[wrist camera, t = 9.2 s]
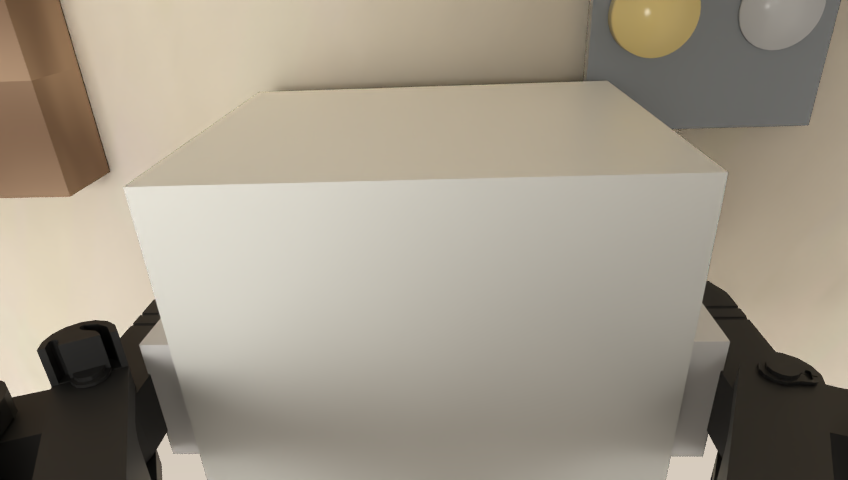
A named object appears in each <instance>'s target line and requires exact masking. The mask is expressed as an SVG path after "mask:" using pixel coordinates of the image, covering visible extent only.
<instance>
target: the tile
mask: <svg viewBox="0 0 848 480" xmlns="http://www.w3.org/2000/svg"><path fill="white" fill-rule="evenodd" d="M840 2H841V0H590V2H589V14H588V27H587V39H586V51H585V64H584V76H583V81H609V82H610V83H611V84H613V85H614V86H615V87H616V88H618V89H619V90H620V91H622V92H623V93H624V94H626V95H627V96H628V97H630V98H631V99H632V100H634V101H635V102H636V103H638V104H639V105H640V106H642V107H643V108H644V109H646V110H647V111H648V112H650V113H651V114H652V115H654V116H655V117H656V118H657V119H659V120H660V121H661V122H663V123H664V124H665V125H667V126H668V127H669V128H671V129H689V128H728V127H767V126H805V125H809V121H810V117H811V114H812V110H813V106H814V102H815V98H816V94H817V90H818V87H819V83H820V79H821V75H822V71H823V67H824V64H825V60H826V56H827V52H828V48H829V44H830V40H831V37H832V33H833V29H834V25H835V21H836V17H837V13H838V10H839V6H840Z"/></svg>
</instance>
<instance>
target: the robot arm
mask: <svg viewBox="0 0 848 480" xmlns="http://www.w3.org/2000/svg"><path fill="white" fill-rule="evenodd" d="M37 352H38V354H39V357H40V359H41V362H42V364H43V367H44V369H45V371H46V374H47V376H48V379H49V381H50V384H51V386H52V387H51V389H50V390H46V391H41V392H36V393H31V394H27V395H22V396H17V397H11V395H10V393H9V390H8V388H7V386H6V384H5V382H3V381H0V480H162V466H161V461H160V459H159V455H158V452H157V448H158V446H159V444H160V442H161V441H162V439H163V438H164V436H165V434H166V433H167V436H168V439H169V442H170V445H171V448H172V451H173V453H174V454H200V453H199V450H198V446H197V443H196V439H195V436H194V432H193V429H192V425H191V422H190V418H189V415H188V411H187V408H186V404H185V401H184V397H183V394H182V390H181V387H180V383H179V380H178V377H177V373H176V370H175V366H174V363H173V359H172V356H171V352H170V349H169V345H168V342H167V338H166V335H165V331H164V328H163V324H162V321H161V317H160V314H159V310H158V307H157V303H156V300H153V301H152V303H151V304H150V305H149V306H148V307H147V308H146V309H145V311H144V312H143V313H142V315H140V316H139V317H138V319H137V320H136V321H135V322H134V323H133V326H131V327H130V328H129V329H128V330H127V331H126V332H125V333H124V335H123V336H122V337H121V338H120V337H119V334H118V331H117V329H116V326H115V325H114V324H112V323H110V322H108V321H98V320H94V321H87V322H81V323H78V324H74V325H71V326H68V327H65V328H63V329H61V330H59V331H57V332H55V333H54V334H52V335H51V336H49V337H48V338H47V339H45V340H44V341H43V342H42V343H41V345H40V346H39V348H38V349H37ZM708 434H709V435H710V437H711V439H712V441H713V443H714V445H715V446H716V448H717V450H718V453H717V457H716V460H715V464H714V469H713V472H712V477H711V480H848V389H843V388H837V387H833V386H830V385H826V384H825V382H824V380H823V378H822V375H821V374H820V373H819V372H817V371H816V370H815V369H814V368H813V367H812V366H811V365H809V364H807V363H805V362H803V361H802V360H800V359H798V358H795V357H792V356H789V355H786V354H783V353H778V352H775V351H774V349H773V348H772V347H771V346H770V344H769V343H768V342H767V341H766V340H765V338H764V337H763V336H762V335H761V334H760V332H759V331H758V330H757V329H756V327H755V326H754V325H753V324H752V323H751V321H750V320H747V317H746V315H745V314H744V313H743V312H742V310H741V309H740V308H738V306H737V304H736V303H735V302H734V301H733V300H732V298H731V297H730V296H729V295H728V293H727V292H725V291H723V290H722V289H720V288H719V287H717V286H715V285H714V284H712V283H710V282H709V281H706V286H705V290H704V295H703V300H702V305H701V310H700V315H699V320H698V325H697V330H696V335H695V340H694V345H693V349H692V354H691V359H690V364H689V369H688V374H687V379H686V384H685V389H684V394H683V399H682V404H681V408H680V413H679V418H678V423H677V428H676V433H675V438H674V443H673V448H672V453H671V456H703V454H704V449H705V445H706V441H707V437H708Z"/></svg>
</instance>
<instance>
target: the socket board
mask: <svg viewBox="0 0 848 480" xmlns="http://www.w3.org/2000/svg"><path fill="white" fill-rule="evenodd" d="M109 172H110V171H109V168H108V164H107V161H106V158H105V154H104V151H103V148H102V144H101V141H100V137H99V134H98V131H97V127H96V124H95V121H94V117H93V114H92V110H91V107H90V104H89V100H88V97H87V94H86V90H85V87H84V83H83V80H82V77H81V73H80V70H79V67H78V63H77V60H76V56H75V53H74V50H73V46H72V43H71V40H70V36H69V33H68V29H67V26H66V23H65V19H64V16H63V13H62V9H61V6H60V2H59V0H0V198H23V197H70V196H72V195H73V194H75V193H77V192H78V191H80V190H82V189H83V188H85V187H86V186H88V185H90V184H91V183H93V182H94V181H96V180H98V179H99V178H101V177H102V176H104V175H106V174H107V173H109Z"/></svg>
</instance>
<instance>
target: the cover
mask: <svg viewBox="0 0 848 480" xmlns="http://www.w3.org/2000/svg"><path fill="white" fill-rule="evenodd" d="M727 177H728V171H726V170H725V169H724V168H722V167H721V166H720V165H718V164H717V163H716V162H714V161H713V160H712V159H710V158H709V157H708V156H706V155H705V154H704V153H702V152H701V151H700V150H698V149H697V148H696V147H694V146H693V145H692V144H691V143H689V142H688V141H687V140H685V139H684V138H683V137H681V136H680V135H679V134H677V133H676V132H675V131H673V130H672V129H671V128H669V127H668V126H667V125H665V124H664V123H663V122H661V121H660V120H659V119H657V118H656V117H655V116H654V115H652V114H651V113H650V112H648V111H647V110H646V109H644V108H643V107H642V106H640V105H639V104H638V103H636V102H635V101H634V100H632V99H631V98H630V97H628V96H627V95H626V94H624V93H623V92H622V91H620V90H619V89H618V88H616V87H615V86H614V85H613V84H611V83H610V82H609V81H581V82H550V83H520V84H489V85H458V86H428V87H397V88H367V89H336V90H306V91H275V92H258V93H257V94H256V95H254V96H253V97H251V98H250V99H248V100H247V101H246V102H244V103H243V104H241V105H240V106H238V107H237V108H236V109H234V110H233V111H231V112H230V113H228V114H227V115H225V116H224V117H223V118H221V119H220V120H218V121H217V122H215V123H214V124H213V125H211V126H210V127H208V128H207V129H205V130H204V131H203V132H201V133H200V134H198V135H197V136H195V137H194V138H193V139H191V140H190V141H188V142H187V143H185V144H184V145H183V146H181V147H180V148H178V149H177V150H175V151H174V152H173V153H171V154H170V155H168V156H167V157H165V158H164V159H163V160H161V161H160V162H158V163H157V164H155V165H154V166H153V167H151V168H150V169H148V170H147V171H145V172H144V173H143V174H141V175H140V176H138V177H137V178H135V179H134V180H133V181H131V182H130V183H128V184H127V185H125V186H124V187H123V188H124V192H125V195H126V199H127V202H128V206H129V209H130V213H131V216H132V220H133V223H134V227H135V230H136V234H137V237H138V241H139V244H140V248H141V251H142V255H143V258H144V262H145V265H146V269H147V272H148V275H149V279H150V282H151V286H152V289H153V293H154V296H155V300H156V303H157V307H158V310H159V314H160V317H161V321H162V324H163V328H164V331H165V335H166V338H167V342H168V345H169V349H170V352H171V356H172V359H173V363H174V366H175V370H176V373H177V377H178V380H179V383H180V387H181V390H182V394H183V397H184V401H185V404H186V408H187V411H188V415H189V418H190V422H191V425H192V429H193V432H194V436H195V439H196V443H197V446H198V450H199V453H200V457H201V460H202V464H203V467H204V470H205V474H206V477H207V480H666V477H667V472H668V467H669V462H670V458H671V453H672V448H673V443H674V438H675V433H676V428H677V423H678V418H679V413H680V408H681V404H682V399H683V394H684V389H685V384H686V379H687V374H688V369H689V364H690V359H691V354H692V349H693V345H694V340H695V335H696V330H697V325H698V320H699V315H700V310H701V305H702V300H703V295H704V290H705V286H706V281H707V276H708V271H709V266H710V261H711V256H712V251H713V246H714V241H715V236H716V231H717V227H718V222H719V217H720V212H721V207H722V202H723V197H724V192H725V187H726V182H727Z"/></svg>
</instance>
